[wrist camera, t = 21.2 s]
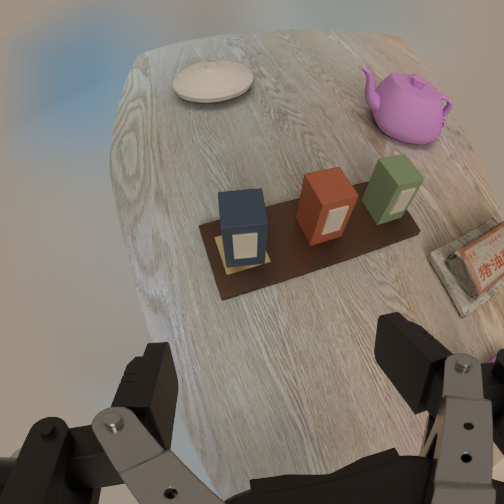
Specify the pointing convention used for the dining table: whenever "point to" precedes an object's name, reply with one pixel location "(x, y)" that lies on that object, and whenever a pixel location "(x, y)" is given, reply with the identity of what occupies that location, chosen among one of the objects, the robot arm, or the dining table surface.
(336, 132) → the dining table surface
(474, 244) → the packaged product
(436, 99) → the teapot
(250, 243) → the navy box with label
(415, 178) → the green block
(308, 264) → the brown board
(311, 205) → the orange block
